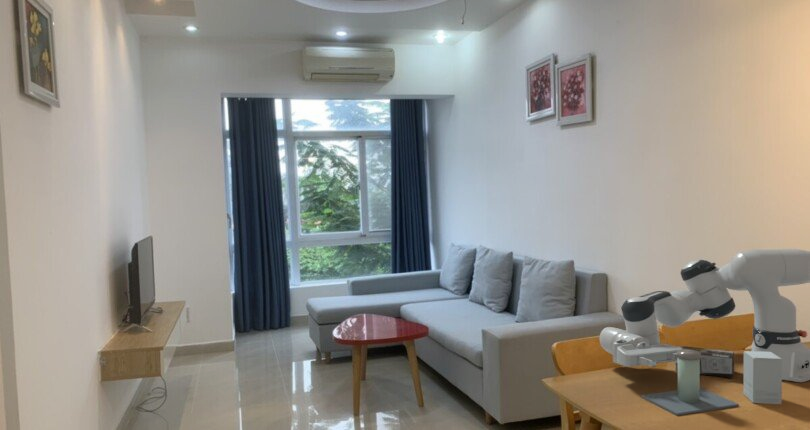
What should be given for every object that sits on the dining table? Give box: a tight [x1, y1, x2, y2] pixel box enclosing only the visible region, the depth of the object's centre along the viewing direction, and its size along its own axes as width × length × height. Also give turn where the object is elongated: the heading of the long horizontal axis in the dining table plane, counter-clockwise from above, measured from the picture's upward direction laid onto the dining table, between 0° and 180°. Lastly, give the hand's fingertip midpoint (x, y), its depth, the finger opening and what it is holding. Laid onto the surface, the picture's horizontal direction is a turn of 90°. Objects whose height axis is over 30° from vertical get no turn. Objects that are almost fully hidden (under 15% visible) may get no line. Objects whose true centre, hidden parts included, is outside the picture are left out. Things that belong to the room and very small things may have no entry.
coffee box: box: [675, 345, 735, 379], centre depth 188 cm, size 9×6×16 cm
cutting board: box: [640, 386, 740, 416], centre depth 163 cm, size 20×14×1 cm
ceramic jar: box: [677, 349, 701, 403], centre depth 162 cm, size 6×6×13 cm
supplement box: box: [743, 350, 783, 405], centre depth 163 cm, size 7×7×13 cm
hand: (667, 362), depth 170 cm, fingers open, 8 cm apart
